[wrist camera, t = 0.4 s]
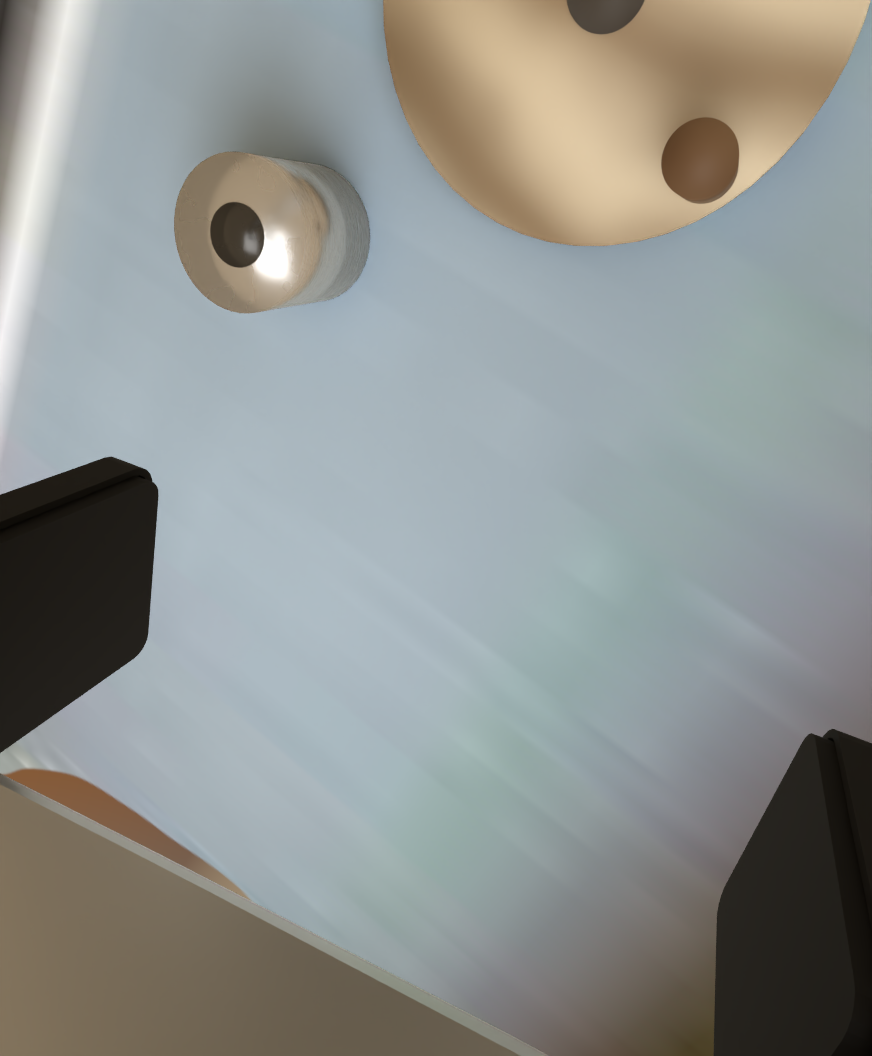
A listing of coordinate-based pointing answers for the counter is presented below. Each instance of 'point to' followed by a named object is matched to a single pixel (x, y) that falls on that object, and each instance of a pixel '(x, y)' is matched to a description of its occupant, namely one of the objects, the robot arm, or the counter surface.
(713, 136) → the turntable
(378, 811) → the counter surface
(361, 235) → the silver rounded piece
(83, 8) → the counter surface
